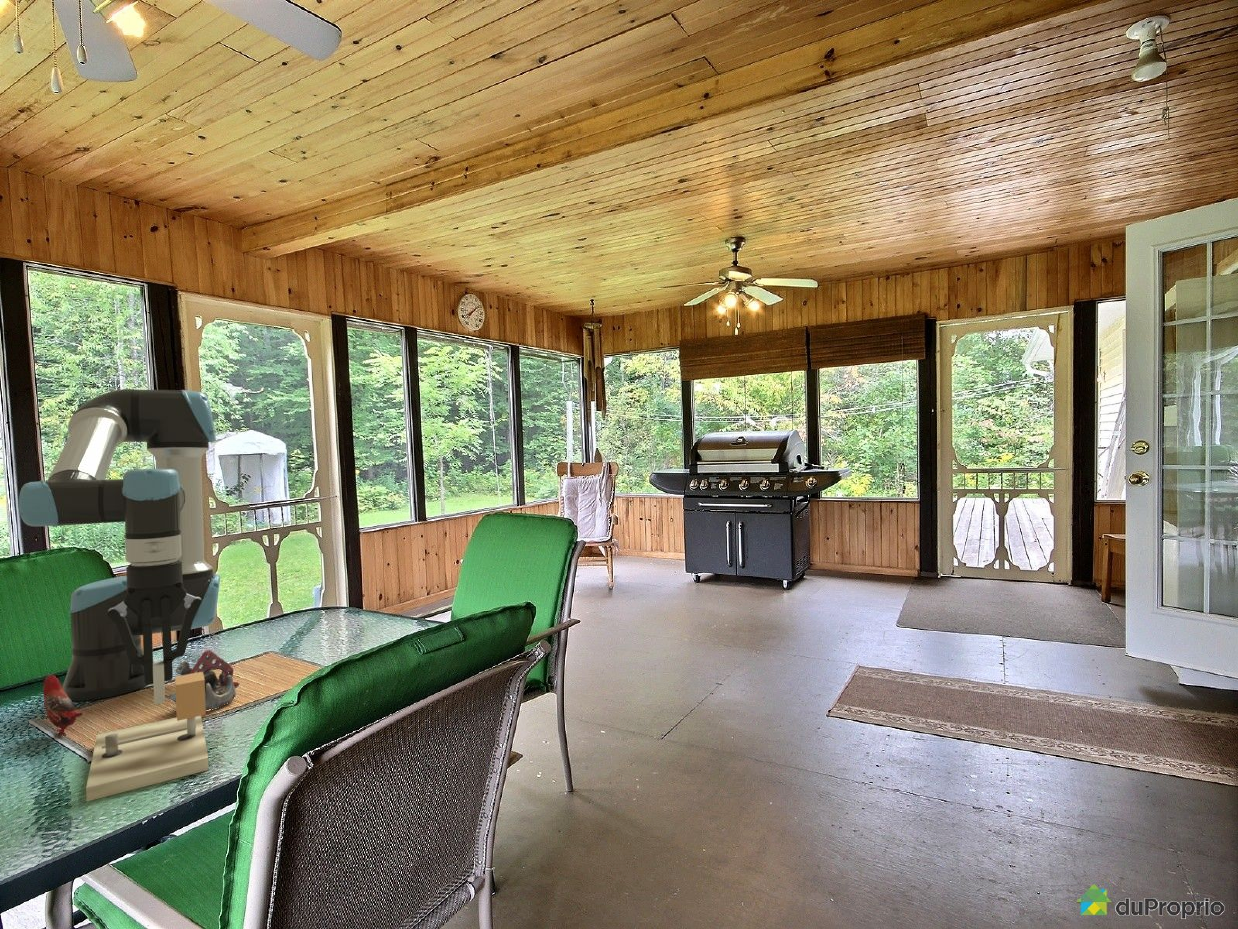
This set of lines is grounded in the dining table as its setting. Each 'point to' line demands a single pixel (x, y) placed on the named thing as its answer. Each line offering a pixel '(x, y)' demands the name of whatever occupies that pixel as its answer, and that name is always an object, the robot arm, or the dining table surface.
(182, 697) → the tan block on peg
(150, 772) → the wooden peg board
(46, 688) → the decorative bird figurine
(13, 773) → the dining table surface
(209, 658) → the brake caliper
